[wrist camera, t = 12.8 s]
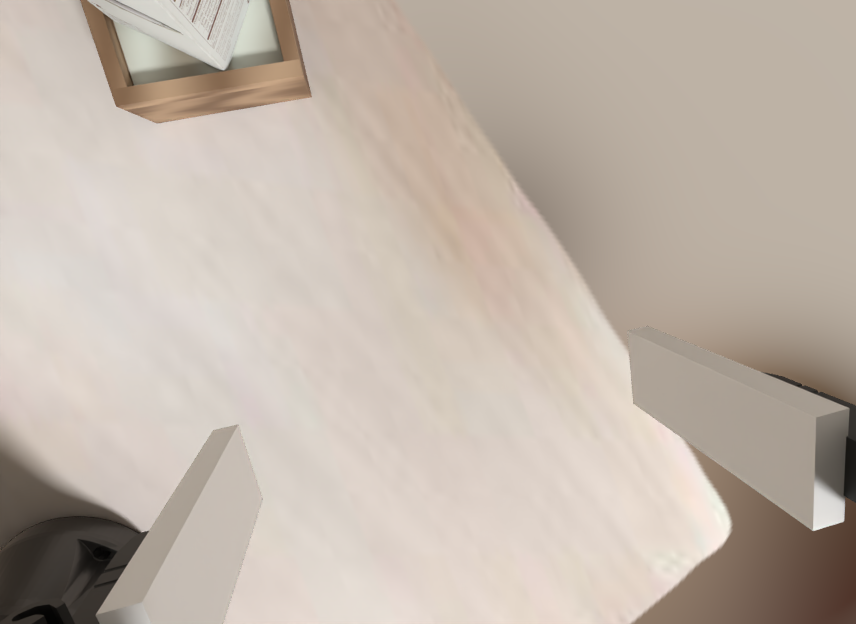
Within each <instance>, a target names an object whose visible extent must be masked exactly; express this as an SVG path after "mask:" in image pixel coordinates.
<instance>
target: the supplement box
mask: <svg viewBox="0 0 856 624" xmlns="http://www.w3.org/2000/svg"><path fill="white" fill-rule="evenodd" d="M87 1H89V2H90V3H91V4H93V5H94V6H95V7H96V8H98V9H99V10H100V11H102V12H103V13H104V14H106V15H107V16H108V17H110V18H111V19H112V20H114V21H115V22H117V23H119V24H122V25H124V26H126V27H129V28H131V29H134V30H136V31H138V32H141V33H143V34H145V35H148V36H150V37H152V38H154V39H157V40H159V41H161V42H163V43H165V44H167V45H169V46H172V47H174V48H176V49H178V50H180V51H182V52H184V53H186V54H188V55H190V56H192V57H195V58H197V59H199V60H201V61H203V62H205V63H207V64H209V65H211V66H213V67H215V68H216V69H218V70H220V71H228V68H229V64H230V61H231V59H232V56H233V53H234V49H235V46H236V44H237V40H238V37H239V34H240V31H241V28H242V25H243V22H244V19H245V16H246V13H247V10H248V7H249V4H250V1H251V0H87Z"/></svg>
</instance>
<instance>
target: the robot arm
mask: <svg viewBox="0 0 856 624" xmlns="http://www.w3.org/2000/svg"><path fill="white" fill-rule="evenodd" d="M627 333H628V345H629V357H630V369H631V381H632V393H633V404H635V405H636V406H638V407H639V408H640V409H642V410H643V411H645V412H646V413H647V414H649V415H650V416H652V417H653V418H655V419H656V420H657V421H659V422H660V423H662V424H663V425H664V426H666V427H667V428H669V429H670V430H671V431H673V432H674V433H676V434H677V435H678V436H680V437H681V438H683V439H684V440H686V441H687V442H688V443H690V444H691V445H693V446H694V447H696V448H697V449H698V450H700V451H701V452H702V453H704V454H705V455H707V456H708V457H710V458H711V459H712V460H714V461H715V462H717V463H718V464H720V465H721V466H722V467H724V468H725V469H727V470H728V471H729V472H731V473H732V474H733V475H735V476H736V477H738V478H739V479H741V480H742V481H743V482H745V483H746V484H748V485H749V486H750V487H752V488H753V489H755V490H756V491H758V492H759V493H760V494H762V495H763V496H765V497H766V498H767V499H769V500H770V501H772V502H773V503H774V504H776V505H777V506H779V507H780V508H781V509H783V510H784V511H786V512H787V513H788V514H790V515H791V516H793V517H794V518H796V519H797V520H799V521H800V522H801V523H803V524H804V525H805V526H807V527H808V528H810V529H811V530H813V531H814V530H818V529H821V528H824V527H828V526H831V525H834V524H838V523H841V522H844V509H845V497H847V498H849V499H850V500H852V501H854V502H856V406H855V405H853V404H850V403H848V402H845V401H843V400H840V399H838V398H835V397H833V396H830V395H828V394H825V393H823V392H820V393H818V391H817V390H815V389H813V388H810V387H808V386H802V384H800V383H797V382H795V381H793V380H790V379H788V378H785V377H782V376H778V375H773V374H768V373H764V372H759V371H757V370H755V369H752V368H750V367H747V366H745V365H742V364H740V363H737V362H735V361H733V360H730V359H727V358H725V357H723V356H720V355H718V354H715V353H713V352H711V351H708V350H706V349H703V348H701V347H698V346H696V345H693V344H691V343H688V342H686V341H684V340H681V339H678V338H676V337H674V336H671V335H669V334H666V333H664V332H661V331H659V330H657V329H654V328H652V327H649V326H646V327H642V328H637V329H633V330H629V331H627ZM262 500H263V498H262V495H261V492H260V489H259V486H258V483H257V480H256V477H255V474H254V471H253V468H252V465H251V462H250V459H249V456H248V452H247V449H246V446H245V443H244V440H243V437H242V434H241V431H240V428H239V425H234V426H230V427H226V428H221V429H217V430H213V432H212V433H211V435H210V436H209V438H208V440H207V441H206V443H205V444H204V446H203V447H202V449H201V451H200V452H199V454H198V455H197V457H196V458H195V460H194V461H193V463H192V465H191V466H190V468H189V469H188V471H187V472H186V474H185V476H184V477H183V479H182V480H181V482H180V483H179V485H178V487H177V488H176V490H175V491H174V493H173V494H172V496H171V498H170V499H169V501H168V502H167V504H166V505H165V507H164V508H163V510H162V512H161V513H160V515H159V516H158V518H157V519H156V521H155V523H154V524H153V526H152V527H151V529H150V530H149V531H146V532H142V533H137V532H135V531H133V530H131V529H129V528H127V527H125V526H123V525H121V524H118V523H115V522H112V521H108V520H104V519H99V518H92V517H66V518H59V519H54V520H50V521H46V522H43V523H40V524H37V525H35V526H33V527H31V528H29V529H27V530H25V531H23V532H22V533H20V534H19V535H17V536H16V537H14V538H13V539H12V540H11V541H10V542H9V543H8V544H7V545H6V546H5V547H4V548H3V549H2V550H0V624H223V623H224V620H225V616H226V613H227V610H228V607H229V604H230V601H231V598H232V594H233V591H234V588H235V585H236V582H237V579H238V576H239V572H240V569H241V566H242V563H243V560H244V557H245V554H246V550H247V547H248V544H249V541H250V538H251V535H252V532H253V529H254V525H255V522H256V519H257V516H258V513H259V510H260V507H261V503H262Z"/></svg>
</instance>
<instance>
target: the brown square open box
mask: <svg viewBox="0 0 856 624" xmlns="http://www.w3.org/2000/svg"><path fill="white" fill-rule="evenodd" d="M80 1H81V4H82V7H83V10H84V13H85V16H86V18H87V21H88V24H89V27H90V30H91V33H92V36H93V39H94V42H95V45H96V48H97V51H98V54H99V57H100V60H101V63H102V66H103V69H104V72H105V75H106V78H107V81H108V84H109V87H110V90H111V93H112V96H113V99H114V102H115V105H116V106H117V107H119V108H121V109H124V110H126V111H129V112H131V113H133V114H136V115H138V116H141V117H143V118H145V119H148V120H150V121H152V122H155V123H162V122H168V121H173V120H179V119H185V118H191V117H197V116H203V115H209V114H215V113H220V112H226V111H232V110H238V109H244V108H250V107H256V106H262V105H267V104H273V103H279V102H285V101H291V100H297V99H303V98H309V97H312V96H311V92H310V87H309V83H308V79H307V75H306V70H305V66H304V62H303V58H302V53H301V49H300V45H299V41H298V36H297V32H296V28H295V24H294V19H293V15H292V11H291V6H290V2H289V0H251V1H250V4H249V7H248V10H247V13H246V16H245V19H244V22H243V25H242V28H241V31H240V34H239V37H238V40H237V44H236V46H235V49H234V53H233V56H232V59H231V61H230V64H229V68H228V71H220V70H218V69H216V68H215V67H213V66H211V65H209V64H207V63H205V62H203V61H201V60H199V59H197V58H195V57H192V56H190V55H188V54H186V53H184V52H182V51H180V50H178V49H176V48H174V47H172V46H169V45H167V44H165V43H163V42H161V41H159V40H157V39H154V38H152V37H150V36H148V35H145V34H143V33H141V32H138V31H136V30H134V29H131V28H129V27H126V26H124V25H122V24H119V23H117V22H115V21H114V20H112V19H111V18H110V17H108V16H107V15H106V14H104V13H103V12H102V11H100V10H99V9H98V8H96V7H95V6H94V5H93V4H91V3H90V2H89V1H87V0H80Z"/></svg>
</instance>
